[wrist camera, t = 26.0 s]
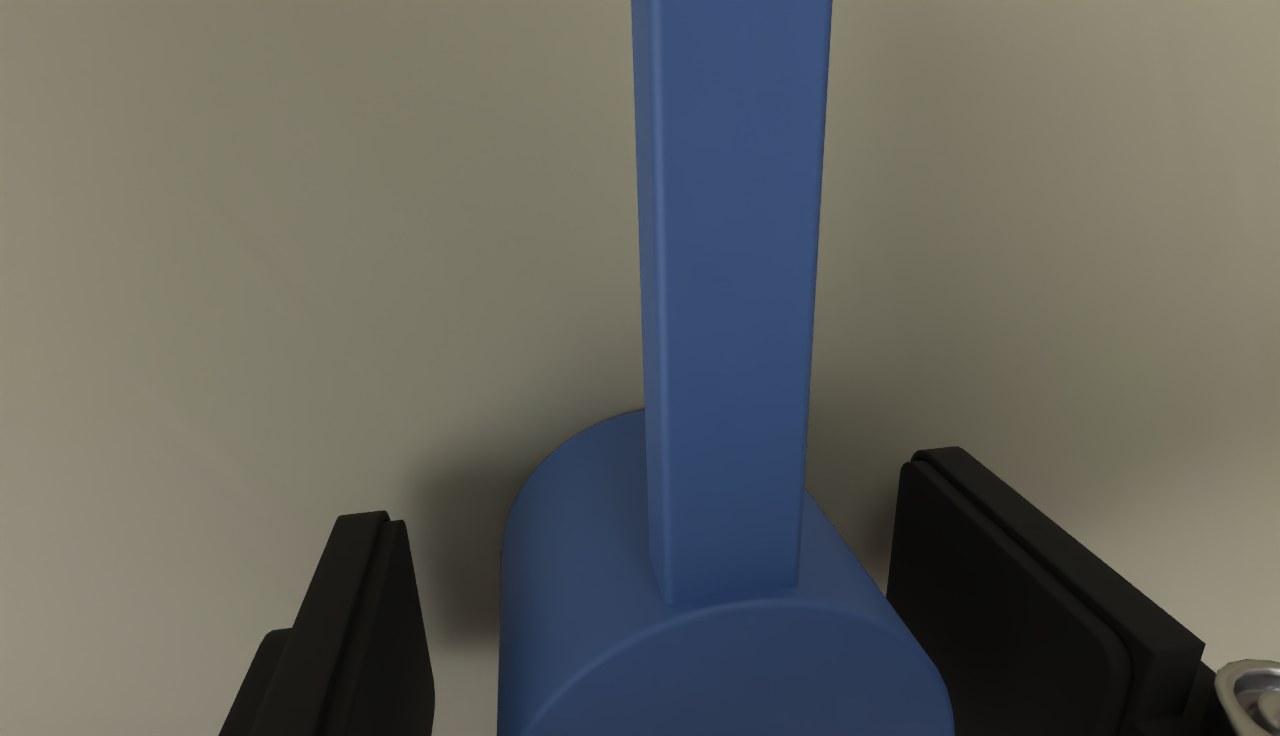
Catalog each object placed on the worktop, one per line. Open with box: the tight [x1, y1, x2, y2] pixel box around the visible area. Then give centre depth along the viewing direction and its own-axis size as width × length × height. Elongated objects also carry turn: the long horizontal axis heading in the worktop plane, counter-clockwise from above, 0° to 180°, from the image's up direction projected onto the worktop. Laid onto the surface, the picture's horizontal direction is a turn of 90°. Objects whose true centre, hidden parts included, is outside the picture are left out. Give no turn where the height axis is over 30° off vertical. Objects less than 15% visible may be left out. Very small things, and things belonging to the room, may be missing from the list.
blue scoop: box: [497, 0, 955, 736], centre depth 8 cm, size 9×4×4 cm, turn 2°
